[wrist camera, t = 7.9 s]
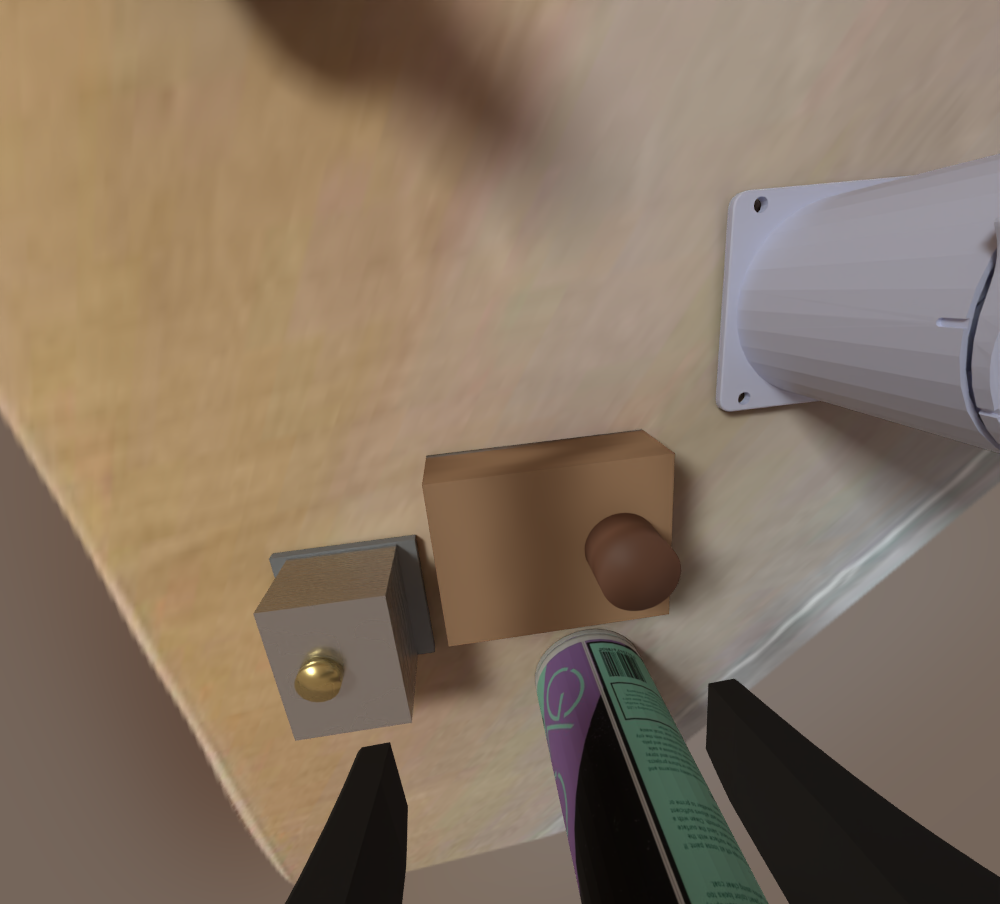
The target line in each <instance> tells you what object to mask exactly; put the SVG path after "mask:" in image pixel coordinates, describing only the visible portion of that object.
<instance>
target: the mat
mask: <svg viewBox="0 0 1000 904" xmlns="http://www.w3.org/2000/svg"><path fill="white" fill-rule="evenodd" d="M393 544H397V550H398V555H399V560H400V565H401V571H402V576H403V581H404V586H405V592H406V597H407V602H408V607H409V613H410V618H411V623H412V628H413V634H414V639H415V644H416V649H417V654H425V653H432V652H435V644H434V638H433V632H432V627H431V621H430V616H429V610H428V604H427V599H426V593H425V587H424V582H423V576H422V570H421V565H420V559H419V553H418V548H417V542H416V536H415V535H410V536H402V537H394V538H387V539H379V540H372V541H364V542H357V543H349V544H341V545H334V546H326V547H319V548H311V549H304V550H296V551H288V552H281V553H273V554H272V555H271V557H270V558H269V560H270V563H271V567H272V570H273V573H274V577H275V578H276V576H277V575H278V573H279V571H280V570H281V568H282V566H283V565H284V563H285V562H286V560H287V558H294V557H301V556H309V555H317V554H324V553H332V552H340V551H347V550H355V549H363V548H370V547H378V546H386V545H393Z"/></svg>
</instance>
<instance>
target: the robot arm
mask: <svg viewBox="0 0 1000 904" xmlns="http://www.w3.org/2000/svg"><path fill="white" fill-rule="evenodd" d="M756 199H759V201H760V202H761V208H760V211H759V212H758V213H757V212H756V211H755V210H754V203H755V200H756ZM743 392H744V394H745V396H744V399H743V400H742V401H741V402H738V397H739V395H740V394H741V393H743ZM814 401H823V402H827V403H830V404H833V405H837V406H840V407H844V408H847V409H850V410H854V411H857V412H861V413H864V414H867V415H871V416H874V417H878V418H881V419H884V420H888V421H891V422H895V423H898V424H901V425H905V426H908V427H912V428H915V429H918V430H922V431H925V432H929V433H932V434H935V435H939V436H942V437H946V438H949V439H952V440H956V441H959V442H963V443H966V444H969V445H973V446H976V447H980V448H983V449H986V450H990V451H993V452H997V453H1000V154H996V155H992V156H988V157H984V158H980V159H976V160H972V161H968V162H964V163H960V164H956V165H952V166H948V167H944V168H941V169H937V170H933V171H929V172H925V173H921V174H917V175H913V176H902V177H890V178H879V179H868V180H857V181H846V182H834V183H823V184H812V185H801V186H790V187H779V188H767V189H756V190H747V191H744V192H741V193H738V194H736V195H735V196H734V197H733V198H732V200H731V201H730V203H729V208H728V220H727V235H726V250H725V266H724V281H723V296H722V312H721V327H720V342H719V357H718V373H717V388H716V404H717V406H718V407H719V408H721V409H722V410H725V411H730V412H731V411H740V410H748V409H756V408H765V407H773V406H781V405H789V404H798V403H806V402H814ZM706 750H707V752H708V754H709V757H710V759H711V761H712V763H713V766H714V768H715V770H716V772H717V775H718V777H719V779H720V781H721V783H722V785H723V787H724V790H725V791H726V794H727V796H728V798H729V800H730V802H731V804H732V805H733V807H734V809H735V811H736V813H737V814H738V816H739V818H740V819H741V821H742V823H743V825H744V827H745V828H746V830H747V832H748V834H749V835H750V837H751V839H752V840H753V842H754V844H755V846H756V847H757V849H758V851H759V852H760V854H761V856H762V857H763V859H764V861H765V863H766V865H767V866H768V868H769V870H770V871H771V873H772V874H773V876H774V878H775V880H776V882H777V883H778V885H779V887H780V889H781V890H782V891H783V894H784V895H785V897H786V899H787V901H788V902H789V904H1000V877H999V876H997V875H996V874H994V873H993V872H991V871H989V870H988V869H986V868H985V867H983V866H982V865H980V864H979V863H977V862H975V861H974V860H973V859H971V858H969V857H968V856H967V855H965V854H963V853H962V852H960V851H959V850H957V849H956V848H954V847H953V846H951V845H950V844H948V843H947V842H945V841H944V840H942V839H941V838H939V837H938V836H936V835H935V834H934V833H932V832H931V831H929V830H928V829H926V828H925V827H924V826H922V825H920V824H919V823H918V822H916V821H915V820H914V819H912V818H911V817H909V816H908V815H906V814H905V813H904V812H902V811H901V810H899V809H898V808H897V807H895V806H894V805H893V804H891V803H890V802H888V801H887V800H886V799H884V798H883V797H882V796H880V795H879V794H877V793H876V792H875V791H874V790H872V789H871V788H869V787H868V786H867V785H866V784H864V783H863V782H862V781H860V780H859V779H858V778H856V777H855V776H854V775H852V774H851V773H850V772H849V771H847V770H846V769H845V768H843V767H842V766H841V765H840V764H838V763H837V762H836V761H835V760H833V759H832V758H831V757H829V756H828V755H827V754H826V753H824V752H823V751H822V750H821V749H819V748H818V747H817V746H815V745H814V744H813V743H812V742H810V741H809V740H808V739H807V738H805V737H804V736H803V735H801V733H799V732H798V731H797V730H796V729H795V728H793V727H792V726H791V725H790V724H788V723H787V722H786V721H785V720H783V719H782V718H781V717H780V716H779V715H778V714H776V713H775V712H774V711H773V710H772V709H770V708H769V707H768V706H766V704H764V703H763V702H762V701H761V700H760V699H758V698H757V697H756V696H755V695H753V694H752V693H751V692H750V691H749V690H748V689H747V688H745V687H744V686H743V685H742V684H741V683H739V682H738V681H737V680H735V679H730V680H725V681H719V682H714V683H709V685H708V711H707V736H706ZM407 819H408V805H407V802H406V798H405V795H404V791H403V787H402V784H401V780H400V777H399V773H398V770H397V766H396V762H395V759H394V755H393V752H392V748H391V744H390V742H389V743H384V744H378V745H373V746H367V747H362V748H361V749H360V750H359V752H358V753H357V756H356V758H355V760H354V763H353V765H352V767H351V770H350V772H349V774H348V777H347V779H346V781H345V784H344V786H343V788H342V790H341V793H340V795H339V797H338V799H337V801H336V803H335V806H334V808H333V810H332V812H331V814H330V816H329V818H328V821H327V823H326V825H325V827H324V829H323V831H322V833H321V835H320V837H319V839H318V841H317V843H316V845H315V847H314V849H313V851H312V853H311V855H310V857H309V859H308V861H307V863H306V865H305V867H304V869H303V871H302V873H301V875H300V877H299V879H298V881H297V883H296V884H295V886H294V888H293V890H292V892H291V894H290V896H289V897H288V899H287V901H286V903H285V904H402V899H403V889H404V881H405V872H406V855H407Z"/></svg>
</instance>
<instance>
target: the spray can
mask: <svg viewBox="0 0 1000 904" xmlns="http://www.w3.org/2000/svg"><path fill="white" fill-rule="evenodd" d="M535 684H536V691H537V696H538V701H539V705H540V710H541V715H542V719H543V724H544V729H545V733H546V738H547V743H548V747H549V752H550V757H551V762H552V766H553V771H554V776H555V780H556V785H557V790H558V794H559V799H560V804H561V808H562V813H563V818H564V823H565V827H566V832H567V836H568V841H569V846H570V851H571V855H572V860H573V864H574V869H575V874H576V879H577V883H578V888H579V893H580V897H581V902H582V904H768V902H767V900H766V898H765V896H764V895H763V892H762V890H761V888H760V886H759V885H758V883H757V881H756V880H755V877H754V875H753V873H752V871H751V869H750V867H749V865H748V864H747V862H746V859H745V858H744V856H743V854H742V852H741V850H740V848H739V846H738V844H737V842H736V840H735V838H734V836H733V834H732V832H731V831H730V829H729V827H728V825H727V823H726V821H725V819H724V817H723V815H722V813H721V811H720V809H719V807H718V806H717V804H716V802H715V800H714V798H713V796H712V794H711V792H710V791H709V788H708V786H707V784H706V783H705V780H704V778H703V777H702V775H701V773H700V771H699V769H698V767H697V765H696V763H695V761H694V759H693V757H692V755H691V753H690V752H689V750H688V748H687V746H686V744H685V742H684V740H683V738H682V736H681V734H680V732H679V730H678V728H677V726H676V724H675V723H674V721H673V719H672V717H671V715H670V713H669V711H668V709H667V707H666V705H665V703H664V701H663V699H662V697H661V695H660V694H659V692H658V690H657V688H656V686H655V684H654V682H653V680H652V678H651V676H650V674H649V672H648V670H647V668H646V667H645V665H644V663H643V661H642V659H641V657H640V655H639V654H638V652H637V650H636V649H635V647H634V646H633V645H632V643H631V642H630V641H628V640H627V639H626V638H625V637H623V636H621V635H619V634H617V633H615V632H611V631H608V630H599V629H593V630H584V631H580V632H576V633H573V634H570V635H568V636H566V637H564V638H562V639H560V640H559V641H557V642H556V643H554V644H553V645H552V646H551V647H550V648H549V649H548V650H547V651H546V652H545V654H544V655H543V656H542V657H541V659H540V661H539V663H538V665H537V669H536V673H535Z"/></svg>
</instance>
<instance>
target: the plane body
mask: <svg viewBox="0 0 1000 904" xmlns="http://www.w3.org/2000/svg"><path fill="white" fill-rule="evenodd" d="M674 459H675V453H674V452H672V451H671V450H670V449H668V448H667V447H665V446H664V445H663V444H661V443H660V442H658V441H657V440H656V439H654V438H653V437H652V436H650V435H649V434H647V433H646V432H645V431H643V430H635V431H627V432H618V433H610V434H602V435H594V436H585V437H577V438H569V439H561V440H553V441H544V442H536V443H528V444H520V445H511V446H503V447H495V448H487V449H479V450H470V451H462V452H454V453H446V454H437V455H429V456H426V462H425V469H424V475H423V482H422V488H423V494H424V500H425V506H426V512H427V518H428V524H429V530H430V536H431V542H432V548H433V554H434V561H435V567H436V573H437V579H438V585H439V591H440V597H441V603H442V609H443V615H444V621H445V627H446V633H447V640H448V646H456V645H463V644H470V643H477V642H483V641H490V640H497V639H504V638H510V637H517V636H524V635H531V634H537V633H544V632H551V631H558V630H564V629H571V628H578V627H585V626H591V625H598V624H605V623H612V622H619V621H625V620H632V619H639V618H646V617H652V616H659V615H666V614H669V598H670V595H671V594H672V592H673V591H674V590H675V588H676V586H677V584H678V582H679V579H680V575H681V565H680V561H679V558H678V556H677V554H676V553H675V552H674V550H673V549H672V548H671V542H672V515H673V487H674Z"/></svg>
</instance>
